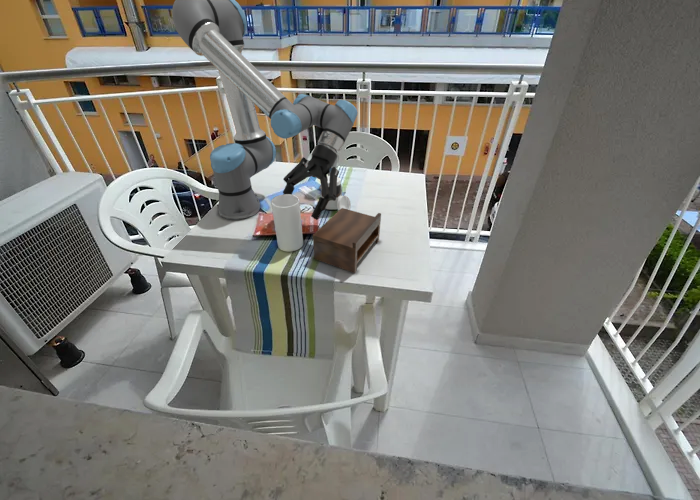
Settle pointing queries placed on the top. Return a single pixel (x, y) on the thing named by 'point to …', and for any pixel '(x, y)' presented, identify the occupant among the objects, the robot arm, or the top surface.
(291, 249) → the cup
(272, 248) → the top surface
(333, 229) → the small wooden box
